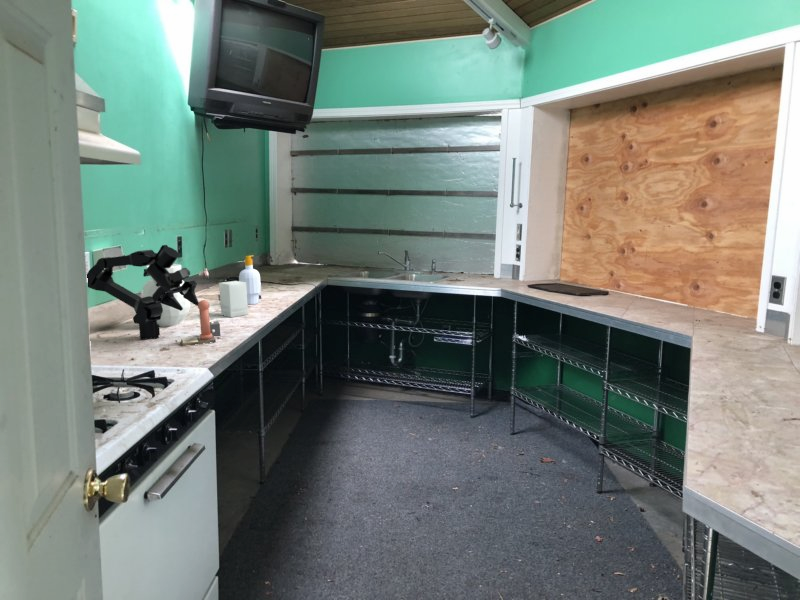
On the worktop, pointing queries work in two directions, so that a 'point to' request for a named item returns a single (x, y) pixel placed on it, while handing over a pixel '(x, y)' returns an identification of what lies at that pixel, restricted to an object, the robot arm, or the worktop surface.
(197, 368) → the worktop surface
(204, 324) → the pawn
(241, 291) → the supplement box
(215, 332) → the die
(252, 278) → the soap bottle
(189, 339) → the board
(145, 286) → the pitcher
